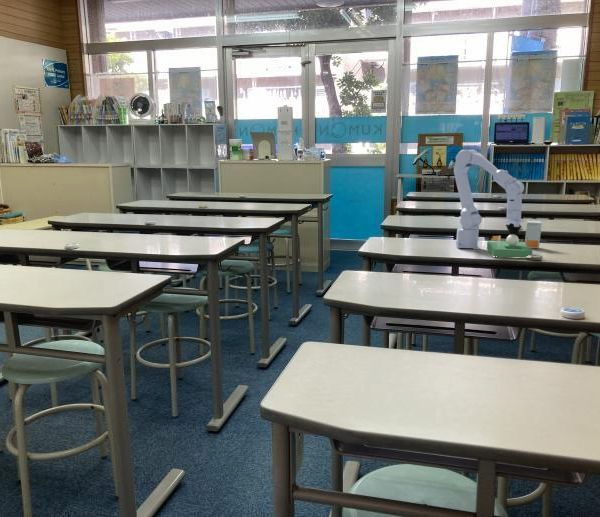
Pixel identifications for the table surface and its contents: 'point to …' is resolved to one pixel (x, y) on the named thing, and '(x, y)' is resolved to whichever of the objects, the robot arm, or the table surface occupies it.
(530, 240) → the skincare box
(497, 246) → the green
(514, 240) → the ball
